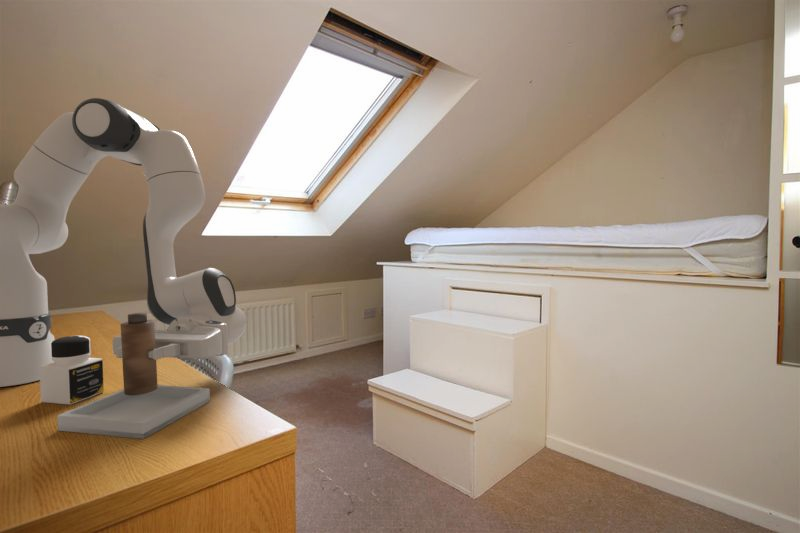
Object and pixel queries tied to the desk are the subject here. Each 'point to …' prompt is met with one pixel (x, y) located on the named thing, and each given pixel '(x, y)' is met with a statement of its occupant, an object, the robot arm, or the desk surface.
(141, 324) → the walnut pepper mill
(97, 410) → the pale dish
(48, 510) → the desk surface
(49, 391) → the medicine bottle
